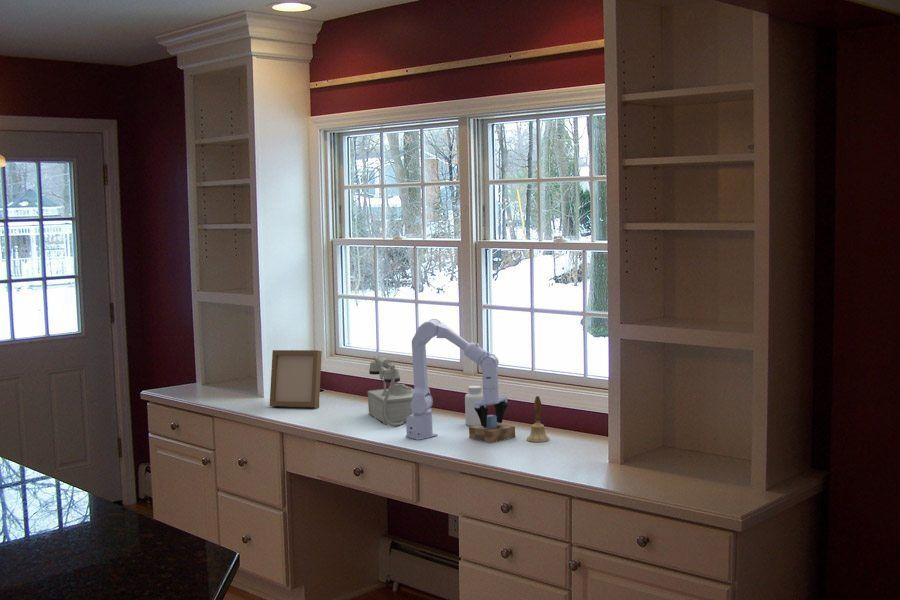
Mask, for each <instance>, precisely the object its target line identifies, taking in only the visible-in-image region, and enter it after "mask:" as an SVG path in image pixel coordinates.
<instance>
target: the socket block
mask: <svg viewBox="0 0 900 600" xmlns="http://www.w3.org/2000/svg"><path fill="white" fill-rule="evenodd" d="M512 437H514V438H515V437H516V426H514V425H510V424H506V423H503V422H502V423H498V422H497V428H494V429H488V428H486V427H484V426H481V424H480V425H476V426H469V427H468V438H469V439H472V438H473V439H474V440H478V441H482V442H485V443H489V442H490V443H489V444H493V443H497V442H500V440H501V441H505V440H508V438H510V439H513V438H512ZM504 439H505V440H504ZM496 441H497V442H496ZM492 442H493V443H492Z"/></svg>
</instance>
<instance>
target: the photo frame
mask: <svg viewBox="0 0 900 600" xmlns="http://www.w3.org/2000/svg"><path fill="white" fill-rule="evenodd" d="M271 355H272V356H271V357H272V358H271V374H270V376H271V377H270V388H269V389H270V390H269V407H276V406H287V407H289V408H319V407H320V395H321V394H320V393H321V374H322V372H321V371H322V355H323V353H322V351H321V350H316V349H314V350H313V349H312V350H311V349H309V350H307V349H305V350H303V349H301V350H299V349H298V350H297V349H290V350H288V349H286V350H285V349H283V350H282V349H279V350H278V349H277V350H276V349H272V354H271ZM318 406H319V407H318ZM287 407H286V408H287Z"/></svg>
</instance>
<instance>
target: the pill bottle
mask: <svg viewBox="0 0 900 600" xmlns="http://www.w3.org/2000/svg"><path fill="white" fill-rule="evenodd" d="M467 390H468V391H467V392H468V393H466V394H465V395H464V408H465V411H464V412H465V424H466V425H467V426H469V427H472V426H476V425H480V424H481V422H480V419H479V416H478V414H477V412H476V411H475V408H474V402H478V401H480V400H483V386H481V385H469V386H468V388H467Z"/></svg>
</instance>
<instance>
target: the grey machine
mask: <svg viewBox="0 0 900 600" xmlns="http://www.w3.org/2000/svg"><path fill="white" fill-rule="evenodd" d="M372 360H374V361H371V362H370V363H369V369H368V370H369V375H374V376H375V375H377V376H378V375H379V379H380V380H381V381H383V389H381V388H380V389H372V390H367V405H368V408H367V409H368V414H369V413H370V414H372V415H373V416H374V418H375V417H376V418H377V420H378V419H379V420H380V421H379V420H378V421H379V422H381V421H382V422H383V424H384V425H388V426H390V427H399V426H398V425H400V426H402V425H404V423H406V419H407V417H408V416H409V415H411V414H412V413H413V411H412V409H411V401H412V399H413V391H414V387H413V388H412V387H410V386H407V385H406V384H404V383H403V384H402V383H398V382H400V381H401V376H400V371H399V369H398V368H396V365H394V364H393V363H392V361H391V360H389V359H387V358H385V357H383V356H378V357H377V356H373V357H372ZM387 384H389V387H388V388H387ZM370 414H369V415H370ZM372 415H371V416H372ZM373 416H372V417H373ZM376 418H375V419H376ZM382 422H381V423H382ZM401 424H402V425H401Z"/></svg>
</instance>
